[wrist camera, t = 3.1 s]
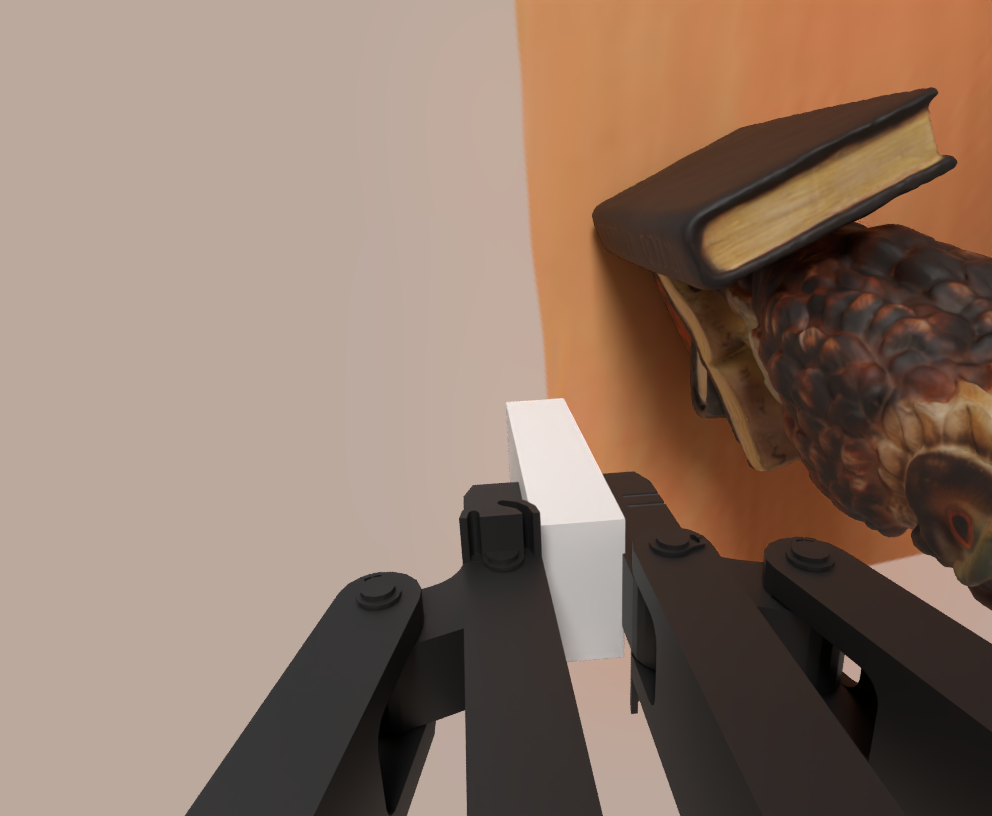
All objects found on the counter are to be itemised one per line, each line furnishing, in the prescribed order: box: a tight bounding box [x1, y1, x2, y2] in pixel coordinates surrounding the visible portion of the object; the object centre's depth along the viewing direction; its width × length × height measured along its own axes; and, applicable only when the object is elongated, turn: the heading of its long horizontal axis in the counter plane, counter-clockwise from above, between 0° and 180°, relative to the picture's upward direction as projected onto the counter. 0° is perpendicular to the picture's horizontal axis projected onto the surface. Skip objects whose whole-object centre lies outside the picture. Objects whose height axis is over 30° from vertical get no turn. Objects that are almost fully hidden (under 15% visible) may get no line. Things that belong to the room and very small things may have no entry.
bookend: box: [592, 87, 992, 610], centre depth 25 cm, size 15×11×25 cm
